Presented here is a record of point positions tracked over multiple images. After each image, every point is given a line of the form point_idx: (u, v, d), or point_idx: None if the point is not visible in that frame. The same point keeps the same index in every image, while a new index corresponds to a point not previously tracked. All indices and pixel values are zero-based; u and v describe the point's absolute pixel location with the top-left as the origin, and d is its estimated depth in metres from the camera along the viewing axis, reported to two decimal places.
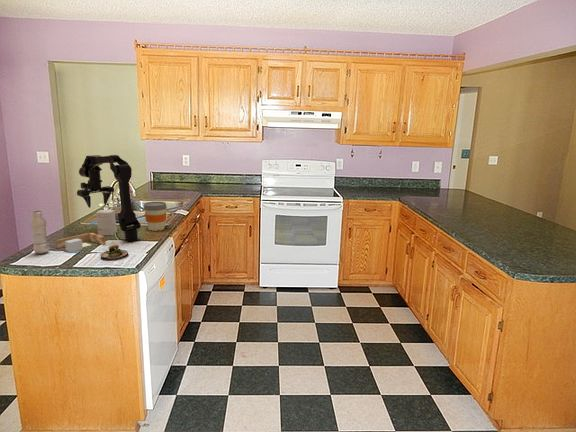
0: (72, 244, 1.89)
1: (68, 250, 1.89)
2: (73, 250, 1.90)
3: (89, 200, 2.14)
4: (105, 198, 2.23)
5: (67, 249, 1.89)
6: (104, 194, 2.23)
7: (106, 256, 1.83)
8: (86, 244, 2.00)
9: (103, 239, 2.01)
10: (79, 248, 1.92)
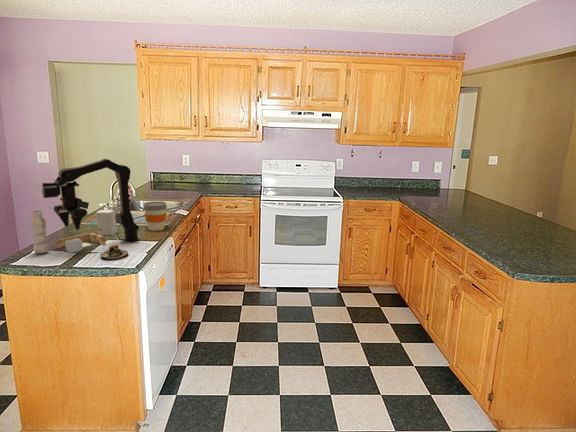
0: (72, 244, 1.89)
1: (68, 250, 1.89)
2: (73, 250, 1.90)
3: (60, 218, 1.90)
4: None
5: (67, 249, 1.89)
6: None
7: (106, 256, 1.83)
8: (86, 244, 2.00)
9: (103, 239, 2.01)
10: (79, 248, 1.92)
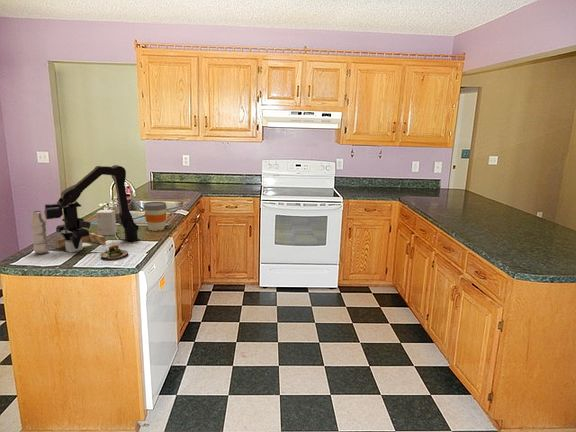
0: (72, 243, 1.89)
1: (68, 250, 1.89)
2: (73, 250, 1.90)
3: (65, 238, 1.91)
4: None
5: (67, 248, 1.89)
6: None
7: (106, 256, 1.83)
8: (86, 244, 2.00)
9: (103, 239, 2.01)
10: (79, 248, 1.92)
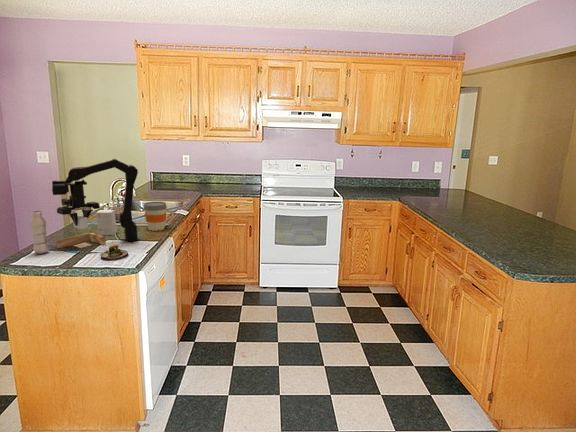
0: None
1: (84, 226, 1.96)
2: None
3: (76, 217, 1.92)
4: (85, 216, 1.98)
5: (83, 225, 1.95)
6: (84, 212, 1.98)
7: (106, 256, 1.83)
8: (86, 244, 2.00)
9: (103, 239, 2.01)
10: None
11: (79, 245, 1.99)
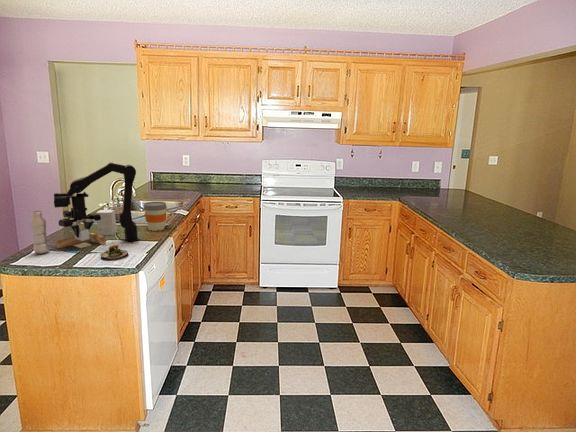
0: None
1: (86, 238, 1.97)
2: None
3: (77, 229, 1.94)
4: (86, 228, 1.99)
5: (85, 237, 1.97)
6: (85, 223, 1.99)
7: (106, 256, 1.83)
8: (86, 244, 2.00)
9: (103, 239, 2.01)
10: None
11: (79, 245, 1.99)
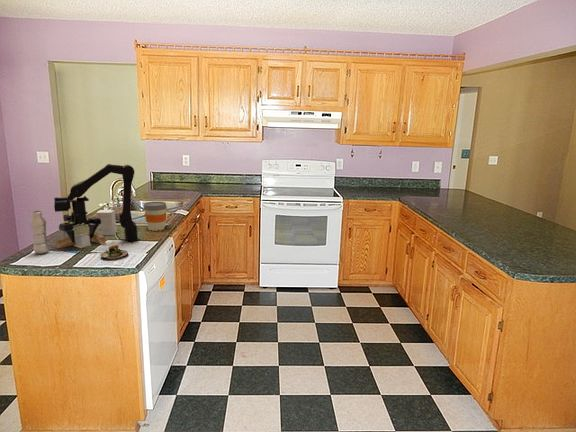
0: None
1: (86, 244, 1.98)
2: None
3: (73, 235, 1.92)
4: (91, 231, 2.02)
5: (85, 243, 1.97)
6: (90, 226, 2.02)
7: (106, 256, 1.83)
8: None
9: (103, 239, 2.01)
10: None
11: None
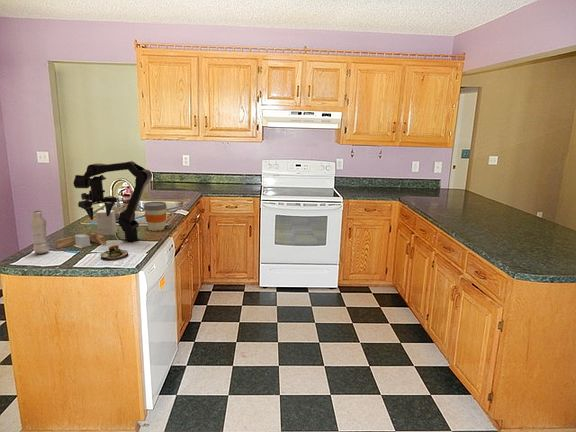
0: None
1: (86, 244, 1.98)
2: None
3: (91, 212, 2.00)
4: (108, 209, 2.09)
5: (85, 243, 1.97)
6: (106, 205, 2.10)
7: (106, 256, 1.83)
8: None
9: (103, 239, 2.01)
10: None
11: None
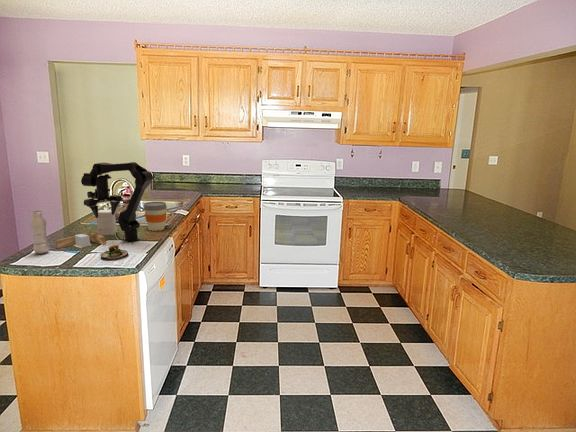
0: None
1: (86, 244, 1.98)
2: None
3: (96, 210, 2.03)
4: (113, 207, 2.12)
5: (85, 243, 1.97)
6: (112, 203, 2.13)
7: (106, 256, 1.83)
8: None
9: (103, 239, 2.01)
10: None
11: None
